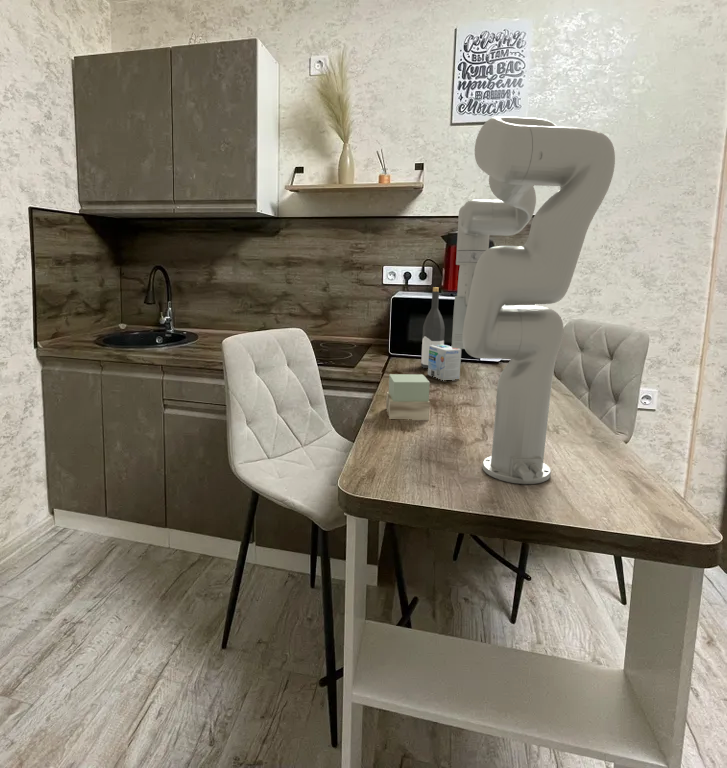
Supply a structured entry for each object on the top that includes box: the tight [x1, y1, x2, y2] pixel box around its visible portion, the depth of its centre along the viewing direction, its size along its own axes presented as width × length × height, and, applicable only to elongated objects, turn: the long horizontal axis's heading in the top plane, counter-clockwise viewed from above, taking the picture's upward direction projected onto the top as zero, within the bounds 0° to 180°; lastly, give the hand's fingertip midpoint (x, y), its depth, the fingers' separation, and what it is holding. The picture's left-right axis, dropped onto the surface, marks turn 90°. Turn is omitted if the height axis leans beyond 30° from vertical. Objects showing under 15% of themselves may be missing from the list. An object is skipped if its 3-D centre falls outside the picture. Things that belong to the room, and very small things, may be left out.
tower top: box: [388, 373, 431, 402], centre depth 134 cm, size 9×9×5 cm
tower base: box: [385, 391, 431, 421], centre depth 135 cm, size 10×10×5 cm
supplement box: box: [451, 295, 467, 350], centre depth 128 cm, size 7×7×13 cm
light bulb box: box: [427, 344, 462, 382], centre depth 179 cm, size 11×7×11 cm, turn 25°
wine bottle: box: [420, 286, 446, 369], centre depth 193 cm, size 8×8×30 cm
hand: (467, 330), depth 129 cm, fingers closed on supplement box, 8 cm apart
